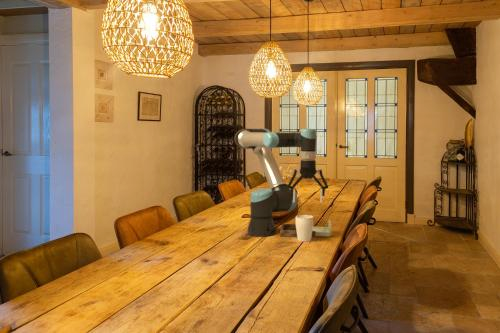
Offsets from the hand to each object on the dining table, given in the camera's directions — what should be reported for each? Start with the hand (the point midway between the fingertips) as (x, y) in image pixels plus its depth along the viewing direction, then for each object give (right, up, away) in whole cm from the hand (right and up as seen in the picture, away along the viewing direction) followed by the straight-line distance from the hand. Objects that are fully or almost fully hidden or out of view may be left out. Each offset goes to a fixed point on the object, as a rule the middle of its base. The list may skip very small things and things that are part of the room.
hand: (307, 202), depth 225 cm
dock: (-3, -18, +14) cm, 23 cm away
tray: (+5, -17, +13) cm, 22 cm away
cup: (-2, -19, 0) cm, 19 cm away
